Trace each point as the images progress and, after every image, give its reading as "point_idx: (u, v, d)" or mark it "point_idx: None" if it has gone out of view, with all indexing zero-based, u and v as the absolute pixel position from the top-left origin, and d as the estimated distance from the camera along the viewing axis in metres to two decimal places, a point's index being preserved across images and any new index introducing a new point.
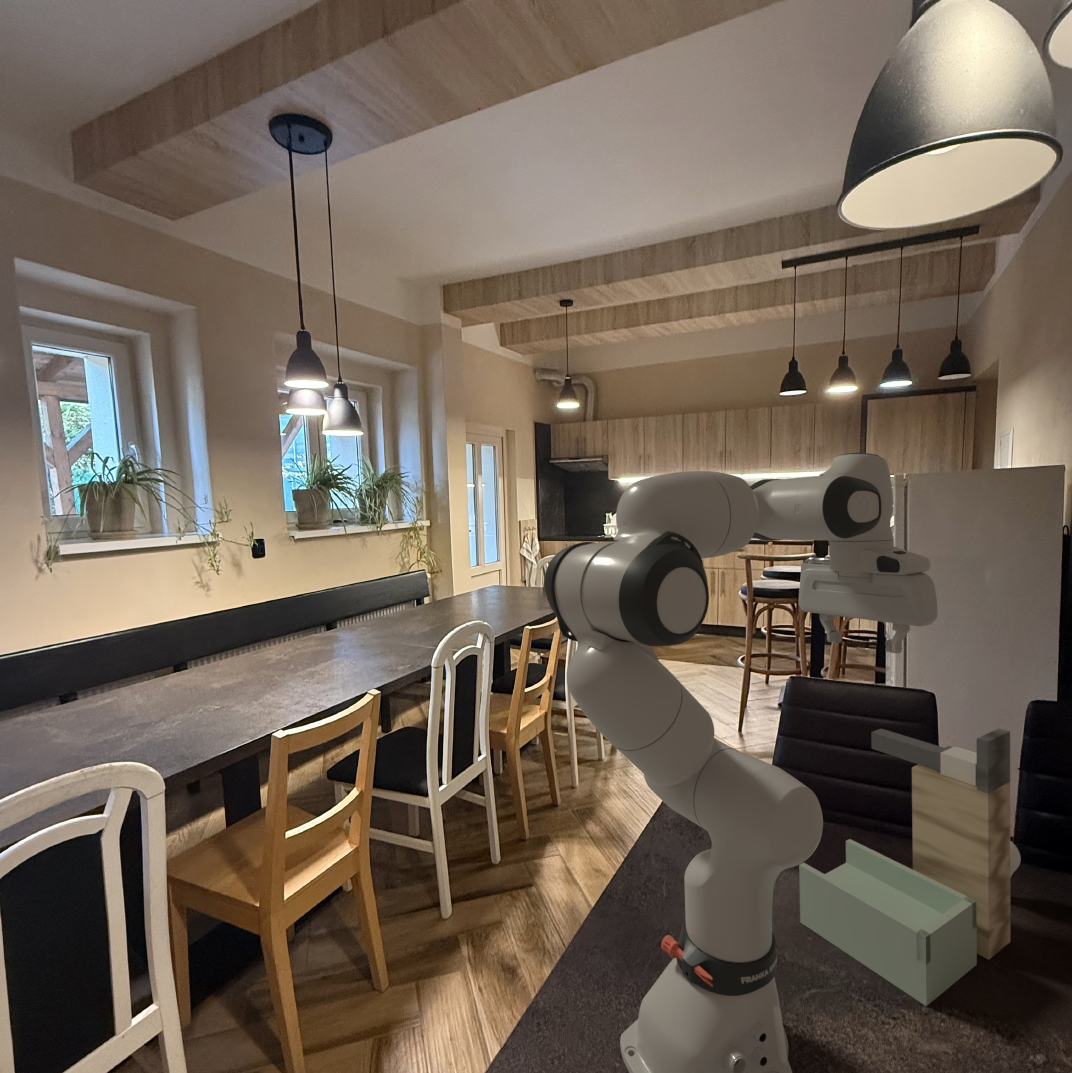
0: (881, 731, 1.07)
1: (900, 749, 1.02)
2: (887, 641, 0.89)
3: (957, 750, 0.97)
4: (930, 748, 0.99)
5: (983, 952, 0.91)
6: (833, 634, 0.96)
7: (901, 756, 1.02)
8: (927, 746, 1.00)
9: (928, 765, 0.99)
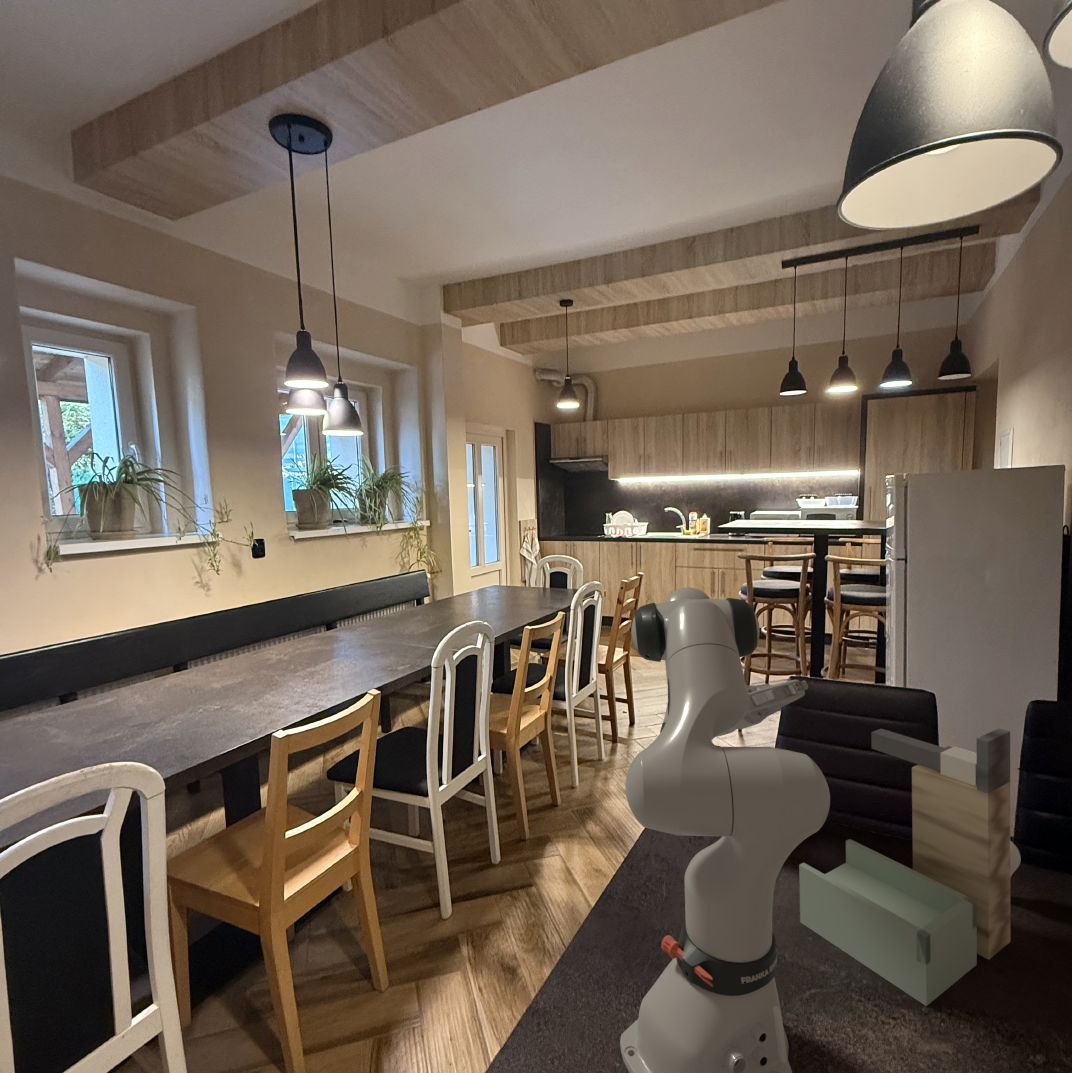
0: (881, 731, 1.07)
1: (900, 749, 1.02)
2: None
3: (957, 750, 0.97)
4: (930, 748, 0.99)
5: (983, 952, 0.91)
6: None
7: (901, 756, 1.02)
8: (927, 746, 1.00)
9: (928, 765, 0.99)
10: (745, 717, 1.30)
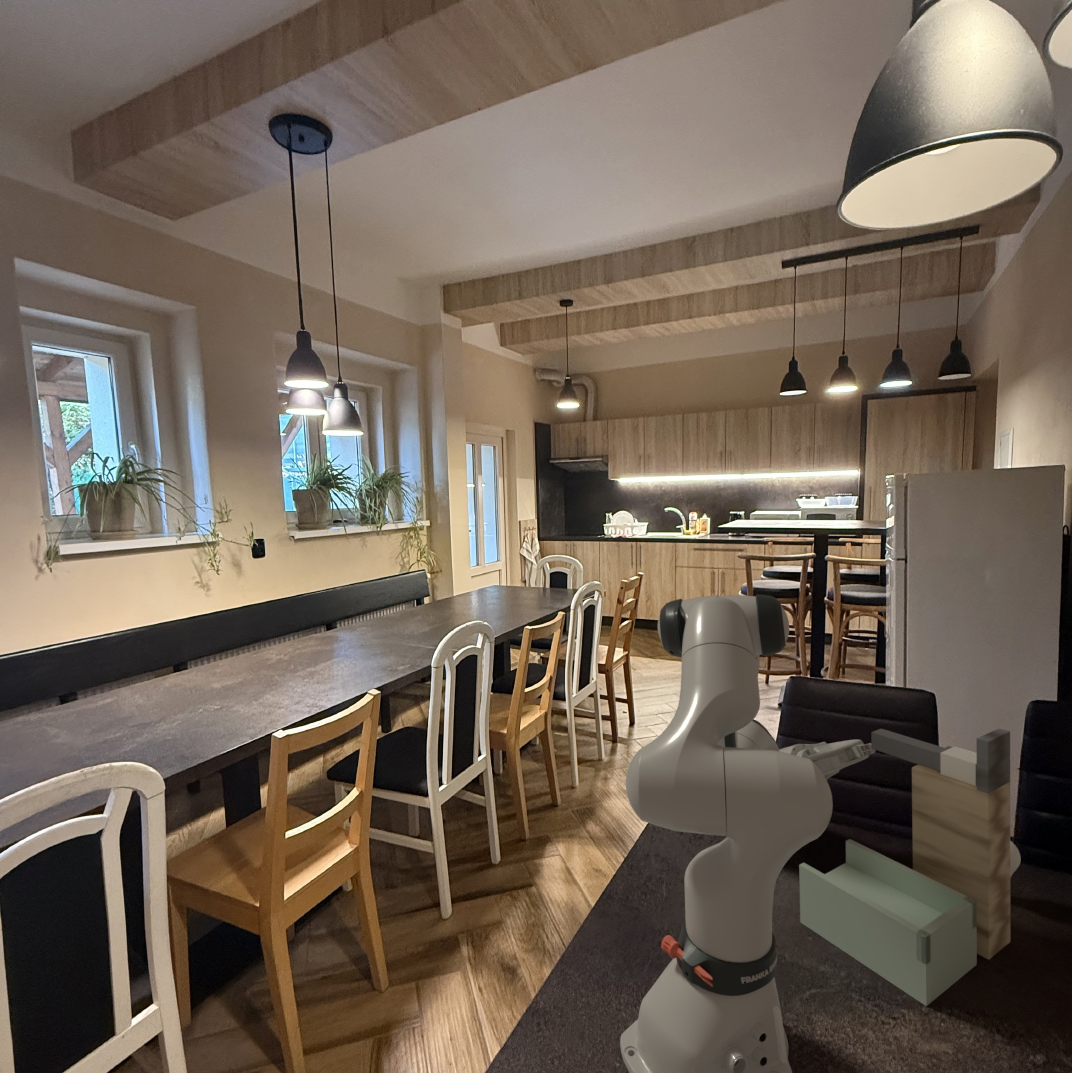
0: (881, 731, 1.07)
1: (900, 749, 1.02)
2: (861, 746, 1.15)
3: (957, 750, 0.97)
4: (930, 748, 0.99)
5: (983, 952, 0.91)
6: (834, 756, 1.10)
7: (901, 756, 1.02)
8: (927, 746, 1.00)
9: (928, 765, 0.99)
10: None
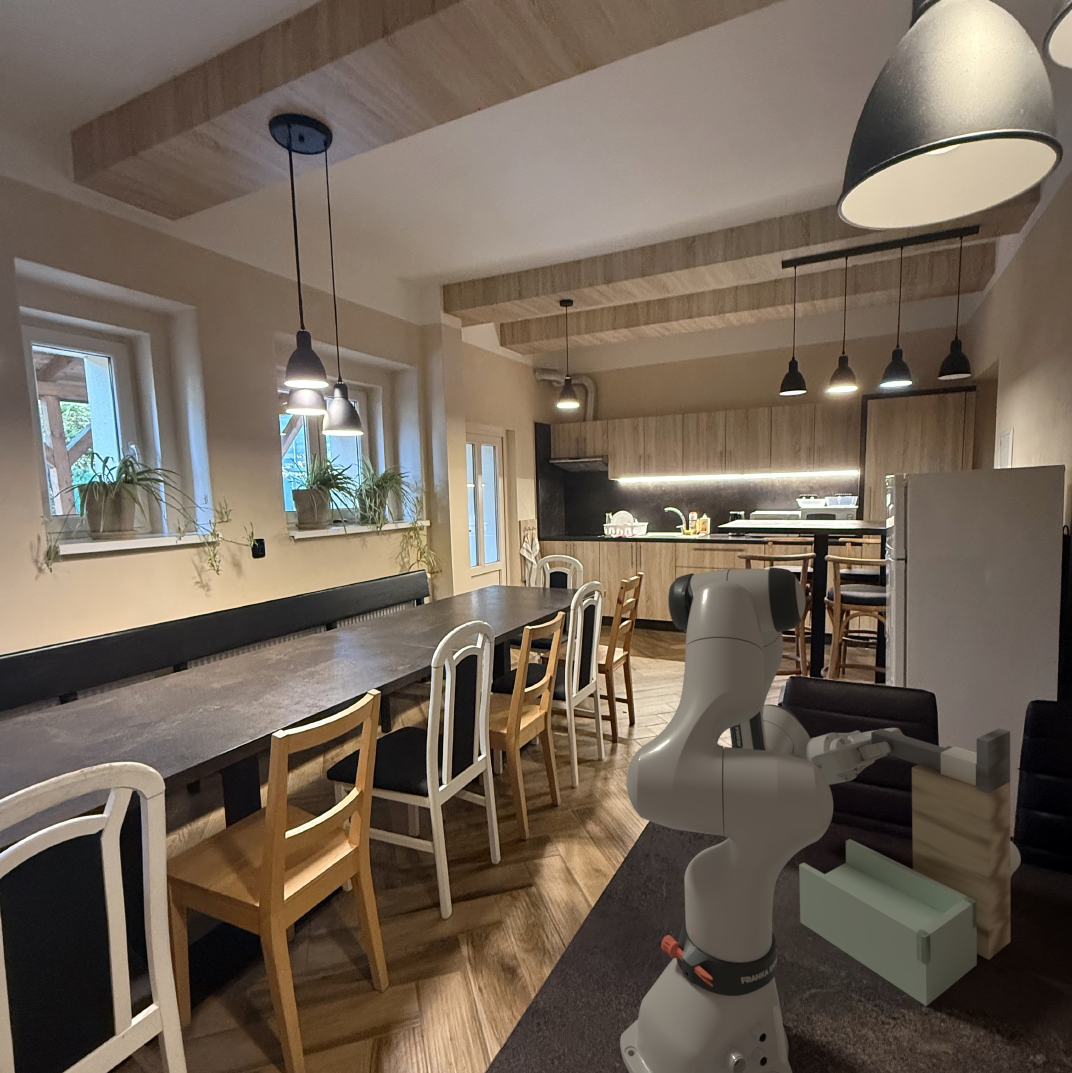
0: (881, 731, 1.07)
1: (900, 749, 1.02)
2: None
3: (957, 750, 0.97)
4: (930, 748, 0.99)
5: (983, 952, 0.91)
6: None
7: (901, 756, 1.02)
8: (927, 746, 1.00)
9: (928, 765, 0.99)
10: None
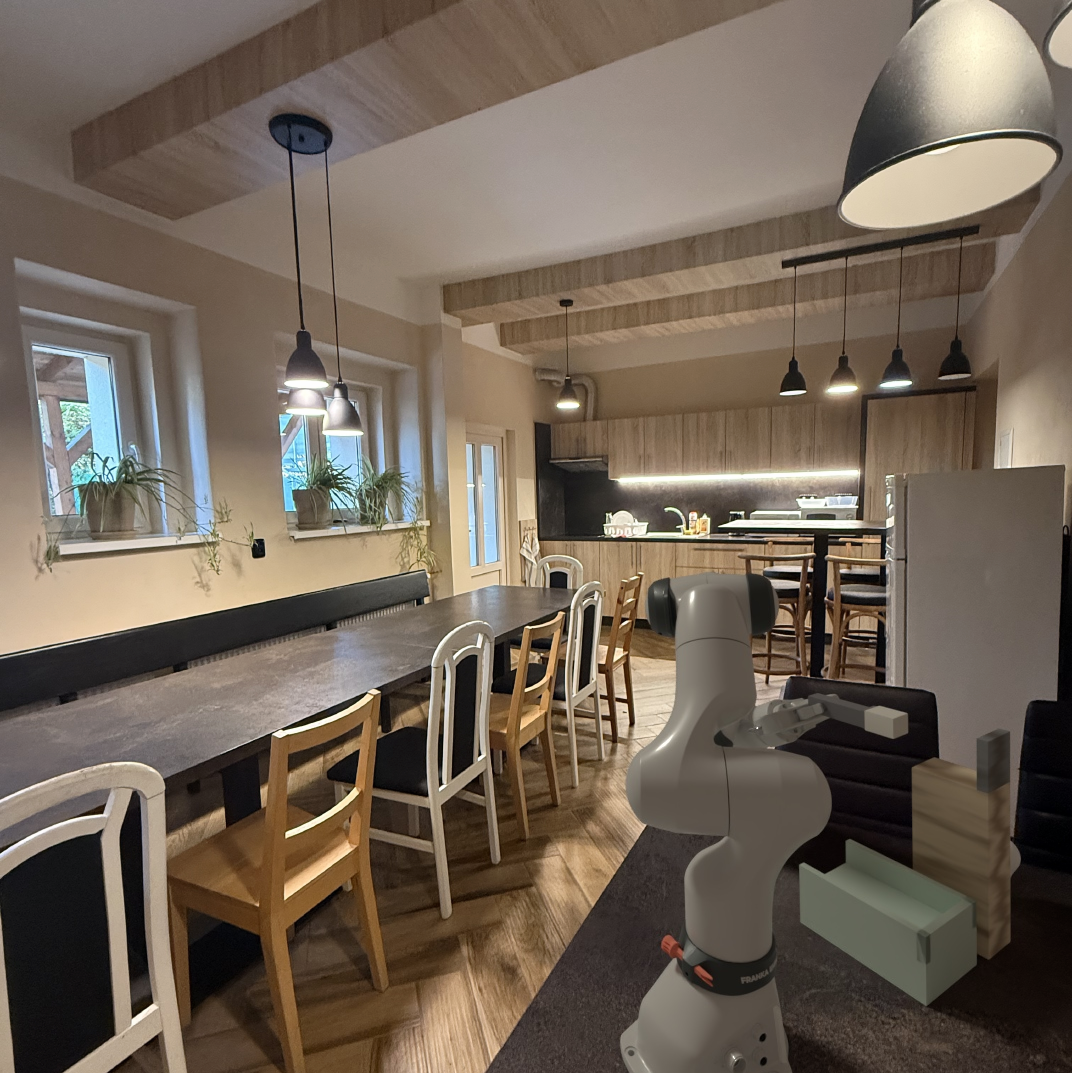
0: (817, 695, 1.16)
1: (832, 710, 1.12)
2: None
3: (880, 708, 1.06)
4: (857, 707, 1.08)
5: (983, 952, 0.91)
6: None
7: (833, 716, 1.12)
8: (855, 706, 1.09)
9: (855, 723, 1.08)
10: (780, 734, 1.21)
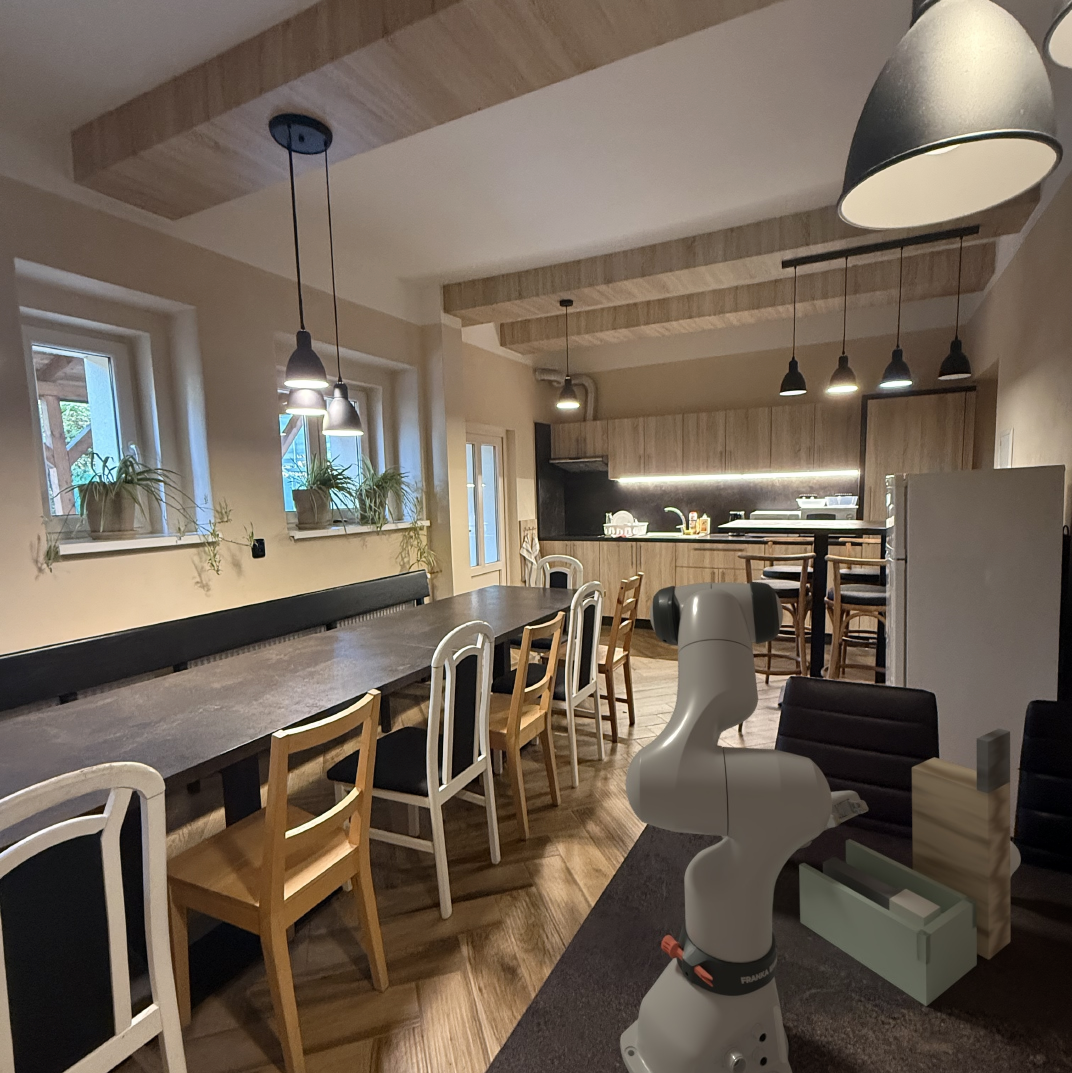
0: (833, 861, 1.02)
1: (851, 886, 0.98)
2: (852, 803, 1.02)
3: (907, 895, 0.92)
4: (880, 889, 0.94)
5: (983, 952, 0.91)
6: None
7: None
8: (878, 886, 0.95)
9: None
10: None
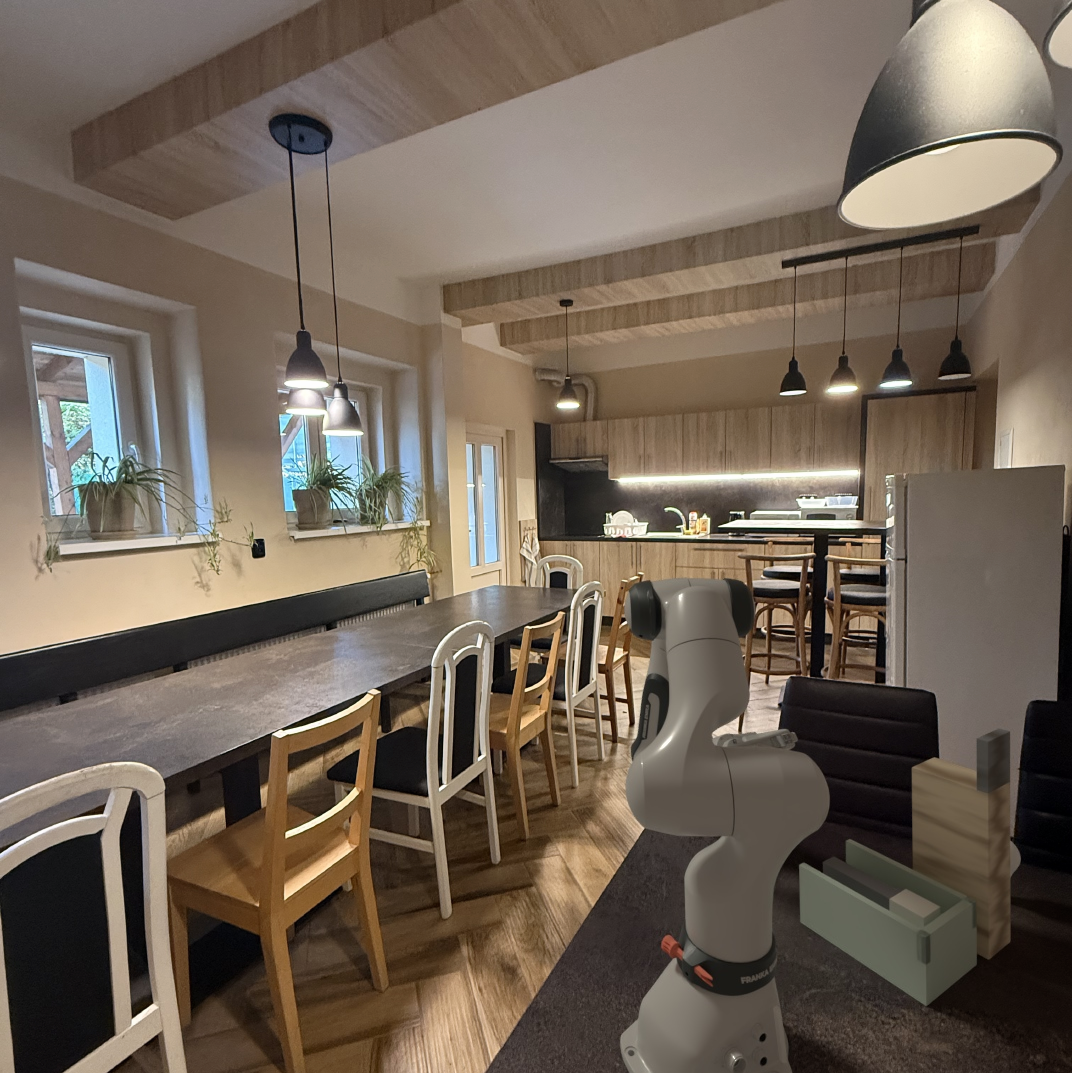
0: (833, 861, 1.02)
1: (851, 886, 0.98)
2: (784, 735, 1.14)
3: (907, 895, 0.92)
4: (880, 889, 0.94)
5: (983, 952, 0.91)
6: None
7: None
8: (878, 886, 0.95)
9: None
10: None
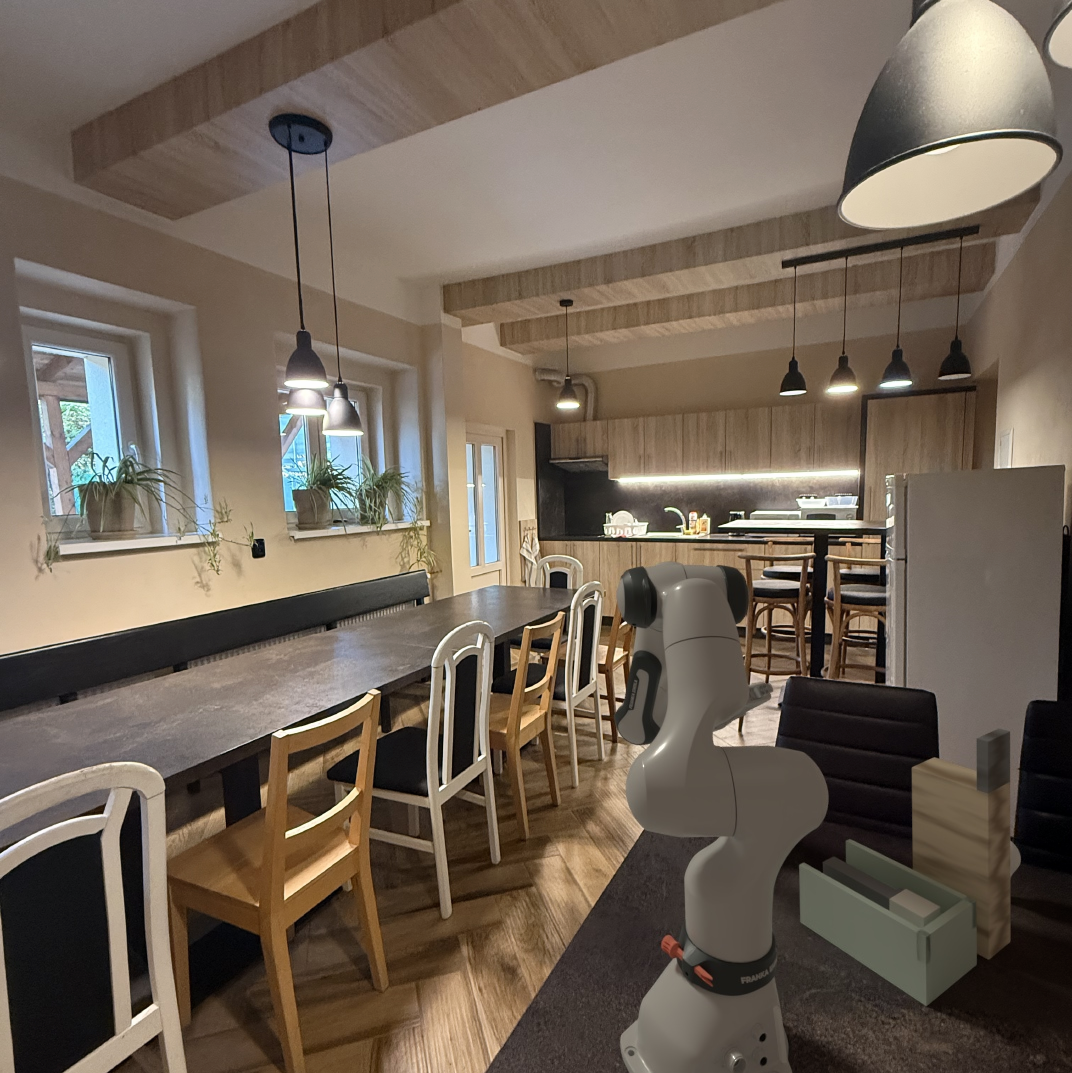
0: (833, 861, 1.02)
1: (851, 886, 0.98)
2: (760, 686, 1.19)
3: (907, 895, 0.92)
4: (880, 889, 0.94)
5: (983, 952, 0.91)
6: None
7: None
8: (878, 886, 0.95)
9: None
10: None
